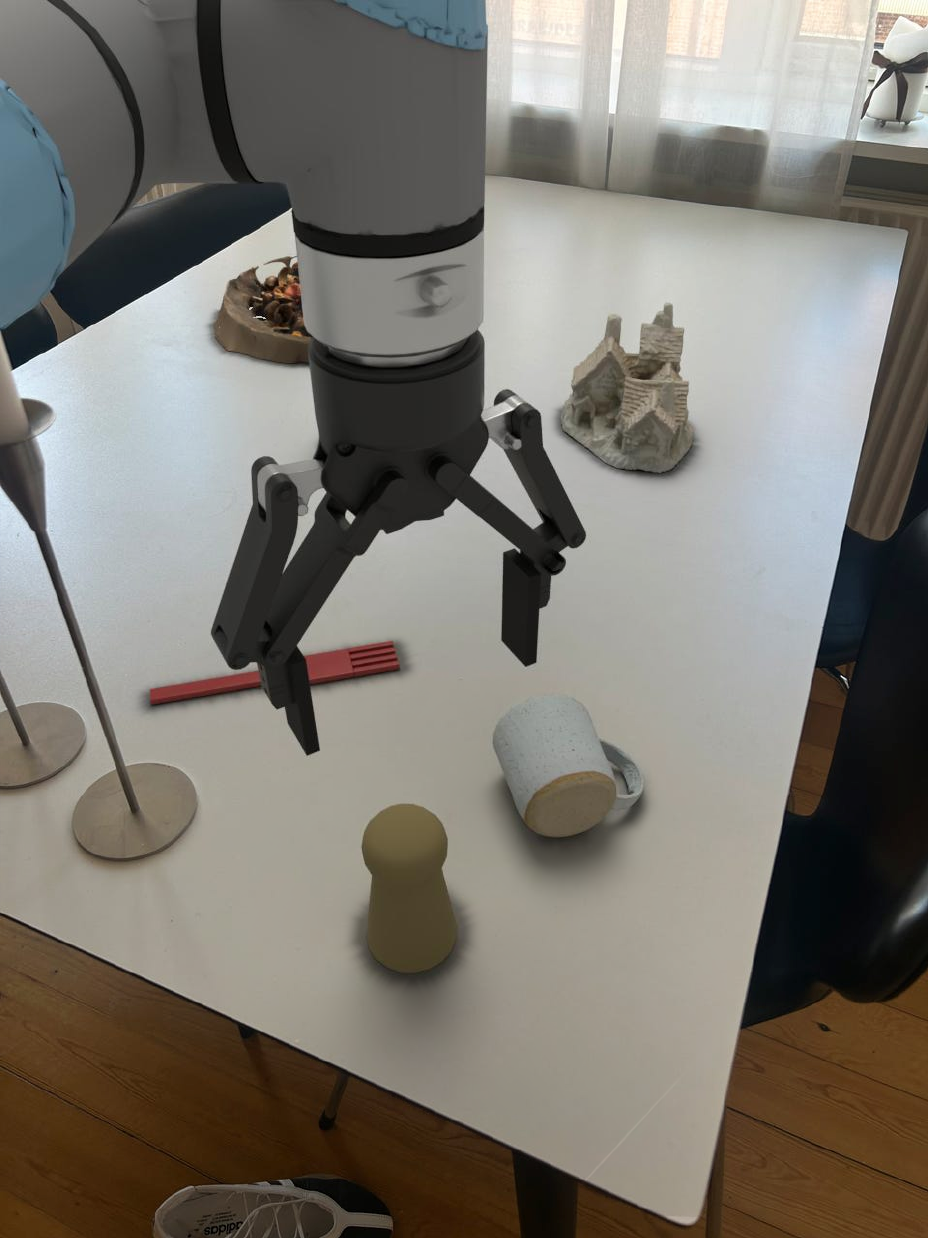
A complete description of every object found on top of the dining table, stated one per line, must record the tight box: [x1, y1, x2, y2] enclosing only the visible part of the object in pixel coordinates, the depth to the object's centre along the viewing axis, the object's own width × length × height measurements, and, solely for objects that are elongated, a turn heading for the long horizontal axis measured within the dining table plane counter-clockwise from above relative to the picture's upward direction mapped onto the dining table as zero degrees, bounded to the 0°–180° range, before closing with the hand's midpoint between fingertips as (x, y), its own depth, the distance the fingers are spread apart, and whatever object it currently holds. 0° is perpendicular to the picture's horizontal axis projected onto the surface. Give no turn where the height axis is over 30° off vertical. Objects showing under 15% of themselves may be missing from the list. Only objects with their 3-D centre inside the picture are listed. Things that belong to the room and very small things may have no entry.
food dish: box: [212, 255, 313, 364], centre depth 140 cm, size 35×33×8 cm
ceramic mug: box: [492, 693, 645, 838], centre depth 70 cm, size 11×8×8 cm
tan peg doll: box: [360, 803, 458, 974], centre depth 61 cm, size 6×6×11 cm
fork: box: [149, 640, 401, 705], centre depth 83 cm, size 21×3×1 cm, turn 104°
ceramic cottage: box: [559, 301, 694, 474], centre depth 110 cm, size 16×16×15 cm
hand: (416, 692), depth 54 cm, fingers open, 13 cm apart
